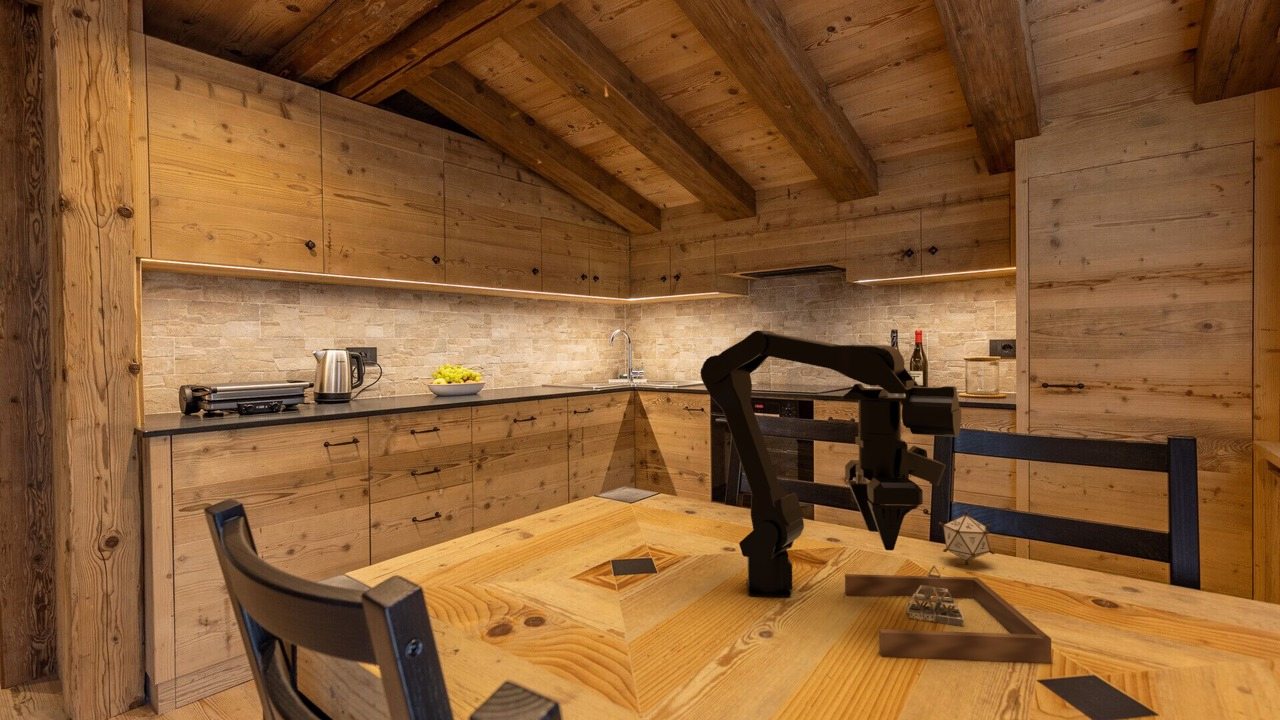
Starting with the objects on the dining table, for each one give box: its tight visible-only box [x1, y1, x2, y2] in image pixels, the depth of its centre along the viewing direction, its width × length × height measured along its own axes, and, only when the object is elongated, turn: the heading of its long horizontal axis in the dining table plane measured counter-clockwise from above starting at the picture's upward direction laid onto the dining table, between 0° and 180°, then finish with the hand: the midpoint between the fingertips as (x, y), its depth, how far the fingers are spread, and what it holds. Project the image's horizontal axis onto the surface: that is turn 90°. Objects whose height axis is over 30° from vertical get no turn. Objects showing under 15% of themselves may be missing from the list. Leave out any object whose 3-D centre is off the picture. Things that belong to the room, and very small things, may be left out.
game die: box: [938, 510, 996, 566], centre depth 111 cm, size 9×8×10 cm
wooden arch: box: [844, 573, 1052, 664], centre depth 88 cm, size 20×21×3 cm
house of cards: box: [906, 564, 965, 627], centre depth 92 cm, size 9×9×8 cm
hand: (880, 540), depth 91 cm, fingers open, 9 cm apart
